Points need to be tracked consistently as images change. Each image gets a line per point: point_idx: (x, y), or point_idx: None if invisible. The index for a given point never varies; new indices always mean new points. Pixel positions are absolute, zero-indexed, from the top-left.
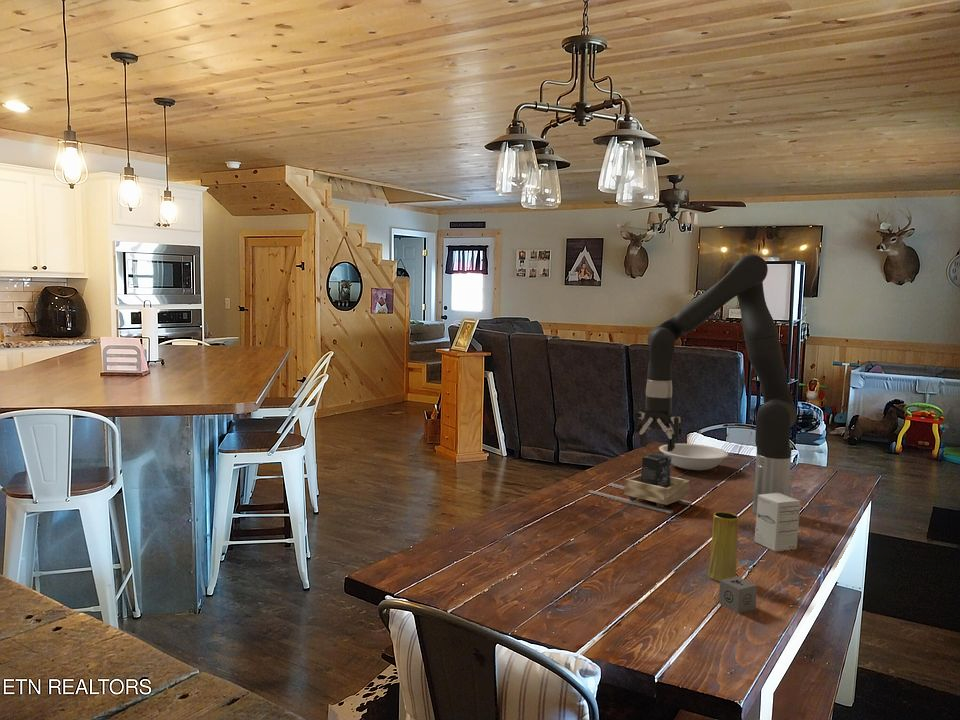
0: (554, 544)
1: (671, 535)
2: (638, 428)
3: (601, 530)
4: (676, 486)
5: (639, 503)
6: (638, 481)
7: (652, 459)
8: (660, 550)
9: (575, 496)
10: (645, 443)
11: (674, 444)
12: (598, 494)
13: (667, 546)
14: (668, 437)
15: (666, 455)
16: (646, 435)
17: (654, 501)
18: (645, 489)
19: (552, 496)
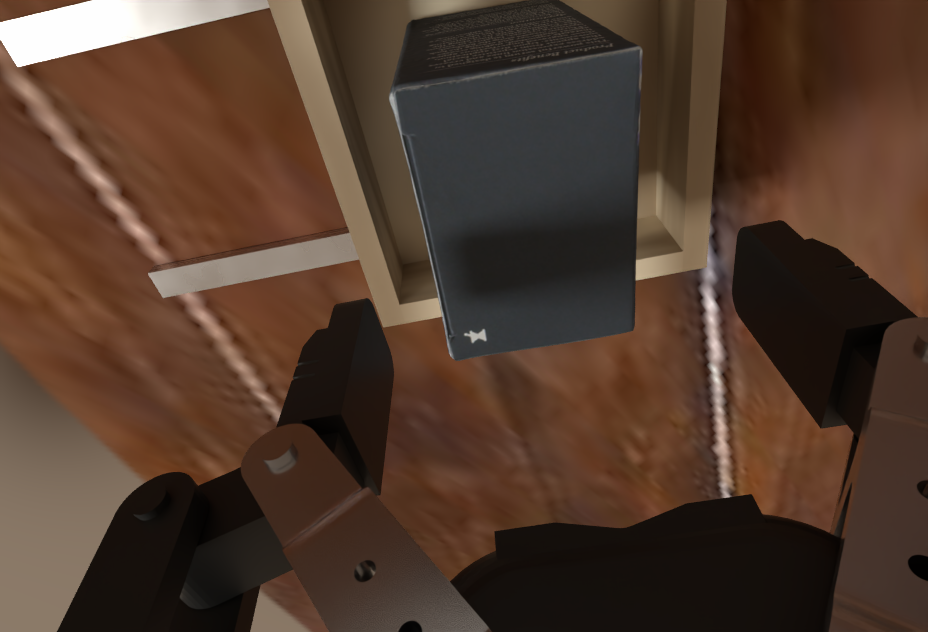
0: None
1: None
2: (243, 596)
3: (589, 510)
4: (713, 142)
5: None
6: (365, 170)
7: (565, 338)
8: (814, 490)
9: (204, 368)
10: (374, 352)
11: (865, 286)
12: (232, 282)
13: (821, 459)
14: (849, 453)
15: (569, 74)
16: (353, 422)
17: None
18: None
19: (174, 437)
